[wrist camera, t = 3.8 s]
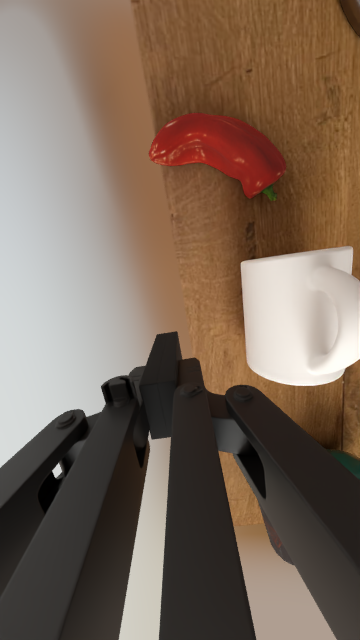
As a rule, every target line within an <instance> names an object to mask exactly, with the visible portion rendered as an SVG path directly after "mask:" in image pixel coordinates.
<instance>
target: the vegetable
mask: <svg viewBox="0 0 360 640" xmlns="http://www.w3.org/2000/svg"><path fill="white" fill-rule="evenodd" d="M149 157H150V159H151V160H152V161H153V162H155V163H157V164H161V165H166V166H176V165H184V164H190V163H198V162H200V163H205V164H207V165H209V166H212V167H214V168H216V169H218V170H220V171H222V172H223V173H225V174H226V175H228V176H230V177H232V178H235V179H238V180H240V181H241V183H242V186H243V191H244V194H245V196H247V197H248V198H253V197H255V196H256V195H257V194H259V193H265V194H266V195H267V196H268V198H269V199H270V201H272V200H276V199H277V193H274V191H273V188H272V187H273V184H274V183H275V182H276V181H277V180H278V179H279V178H280V177H281V176H282V175H283V174H284V173H285V170H286V163H285V160H284V158H283V156H282V155H281V153H280V152H279V151H278V149H277V148H276V147H275V146H274V145H273V144H272V143H271V142H270V140H269V139H268V138H267V137H266V136H265V135H263V134H262V133H261V132H259V131H258V130H256V129H255V128H253V127H252V126H250V125H248V124H247V123H245V122H243V121H241V120H239V119H235V118H231V117H227V116H221V115H209V114H204V113H189V114H186V115H183V116H180V117H178V118H175V119H173V120H171V121H170V122H168V123H167V124H165V125H164V126H163V128H162V129H161V130H160V131H159V132H158V134H157V136H156V137H155V139H154V140H153V142H152V145H151V149H150V151H149Z"/></svg>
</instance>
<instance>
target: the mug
mask: <svg viewBox="0 0 360 640" xmlns="http://www.w3.org/2000/svg"><path fill="white" fill-rule="evenodd" d="M352 259H353V248H352V247H351V246H345V247H337V248H329V249H321V250H314V251H307V252H300V253H293V254H286V255H279V256H272V257H265V258H259V259H252V260H246V261H243V262H241V279H242V294H243V309H244V324H245V340H246V355H247V363H248V365H249V367H250V368H251V369H252V370H253V371H254V372H255V373H257V374H258V375H260V376H262V377H264V378H267V379H269V380H272V381H275V382H279V383H284V384H289V385H299V386H313V385H321V384H326V383H330V382H332V381H335V380H337V379H338V378H340V377H341V376H342V375H343V373H344V371H345V368H346V367H348V366H350V365H351V364H353V363H355V362H356V361H357V360H359V359H360V281H359V280H358V279H357V278H355V277H354V276H352V275H351V274H352Z"/></svg>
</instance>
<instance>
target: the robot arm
mask: <svg viewBox="0 0 360 640" xmlns="http://www.w3.org/2000/svg"><path fill="white" fill-rule="evenodd" d="M340 1H341V4H342V7H343V10H344V12H345V15H346V17H347V19H348V21H349V23H350V24H351V26H352V28H353V29H354V30H355V32H356V33H357V34H358V36H359V37H360V0H340ZM101 389H102V392H103V395H104V399H105V402H106V405H105V407H104V408H103V410H102V412H100V413H97V414H94V415H92V416H89V417H86V416H85V413H84V411H83V410H80V409H77V410H70V411H67V412H65V413H63V414H61V415H60V416H58V417H57V418H55V419H54V420H53V421H52V422H51V423H49V424H48V425H47V426H46V427H45V428H44V429H43V430H42V431H41V432H39V433H38V434H37V435H36V436H35V437H34V438H33V439H32V440H31V441H29V442H28V443H27V444H26V445H25V446H24V447H23V448H22V449H21V450H20V451H18V452H17V453H16V454H15V455H14V456H13V457H12V458H11V459H10V460H8V461H7V462H6V463H5V464H4V465H3V466H2V467H1V468H0V640H118V639H119V634H120V628H121V622H122V616H123V609H124V603H125V597H126V591H127V585H128V579H129V573H130V567H131V561H132V555H133V549H134V543H135V537H136V531H137V525H138V519H139V512H140V506H141V501H142V494H143V489H144V483H145V476H146V471H147V465H148V459H149V453H150V446H149V441H148V435H149V430H150V434H151V438H152V439H159V438H167V437H171V447H170V448H171V449H170V464H169V481H168V499H167V514H166V516H167V517H166V531H165V548H164V564H163V581H162V598H161V615H160V632H159V640H256V636H255V631H254V626H253V621H252V616H251V611H250V606H249V601H248V596H247V591H246V586H245V581H244V576H243V572H242V566H241V561H240V556H239V552H238V547H237V542H236V537H235V532H234V527H233V522H232V517H231V512H230V507H229V502H228V497H227V492H226V487H225V482H224V477H223V472H222V467H221V463H220V458H219V453H218V451H223V452H229V453H233V456H234V459H235V460H236V462H237V464H238V466H239V467H240V469H241V471H242V473H243V474H244V476H245V478H246V480H247V482H248V483H249V485H250V487H251V489H252V490H253V492H254V494H255V496H256V497H257V499H258V501H259V503H260V505H261V506H262V508H263V510H264V512H265V513H266V515H267V517H268V519H269V520H270V522H271V524H272V526H273V528H274V529H275V531H276V533H277V535H278V536H279V538H280V540H281V542H282V543H283V545H284V547H285V549H286V551H287V552H288V554H289V556H290V558H291V559H292V561H293V563H294V565H295V566H296V568H297V570H298V572H299V574H300V575H301V577H302V579H303V581H304V582H305V584H306V586H307V588H308V589H309V591H310V593H311V595H312V596H313V598H314V600H315V602H316V603H317V605H318V607H319V609H320V611H321V612H322V614H323V616H324V618H325V619H326V621H327V623H328V625H329V627H330V628H331V630H332V632H333V634H334V635H335V637H336V639H337V640H360V480H359V479H358V478H357V477H356V476H355V475H354V474H353V473H351V472H350V471H349V470H348V469H347V468H346V467H345V466H344V465H342V464H341V463H340V462H339V461H338V460H337V459H336V458H335V457H334V456H332V455H331V454H330V453H329V452H328V451H327V450H326V449H325V448H323V447H322V446H321V445H320V444H319V443H318V442H317V441H316V440H314V439H313V438H312V437H311V436H310V435H309V434H308V433H307V432H305V431H304V430H303V429H302V428H301V427H300V426H299V425H298V424H296V423H295V422H294V421H293V420H292V419H291V418H290V417H289V416H288V415H286V414H285V413H284V412H283V411H282V410H281V409H280V408H279V407H277V406H276V405H275V404H274V403H273V402H272V401H271V400H270V399H268V398H267V397H266V396H265V395H264V394H263V393H262V392H261V391H259V390H258V389H256V388H255V387H252V386H249V385H237V386H233V387H231V388H229V389H228V390H227V391H226V394H225V395H218V394H214V393H211V392H209V391H208V390H207V389H206V388H205V386H204V381H203V376H202V371H201V367H200V361H199V360H197V359H196V358H189V359H184V360H182V355H181V350H180V344H179V338H178V333H177V332H171V333H164V334H157V336H156V339H155V341H154V344H153V347H152V350H151V353H150V355H149V358H148V361H147V364H146V366H141V367H136V368H134V369H133V370H132V371H131V372H130V374H129V376H127V375H125V376H118V377H115V378H112V379H110V380H108V381H106V382H105V383H104V384H103V385H102V386H101ZM58 463H59V464H60V467H61V469H62V473H61V474H60V475H59V476H58V477H57V478H55V477H54V474H53V472H52V470H53V469H54V468H55V467H56V465H57V464H58Z"/></svg>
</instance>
